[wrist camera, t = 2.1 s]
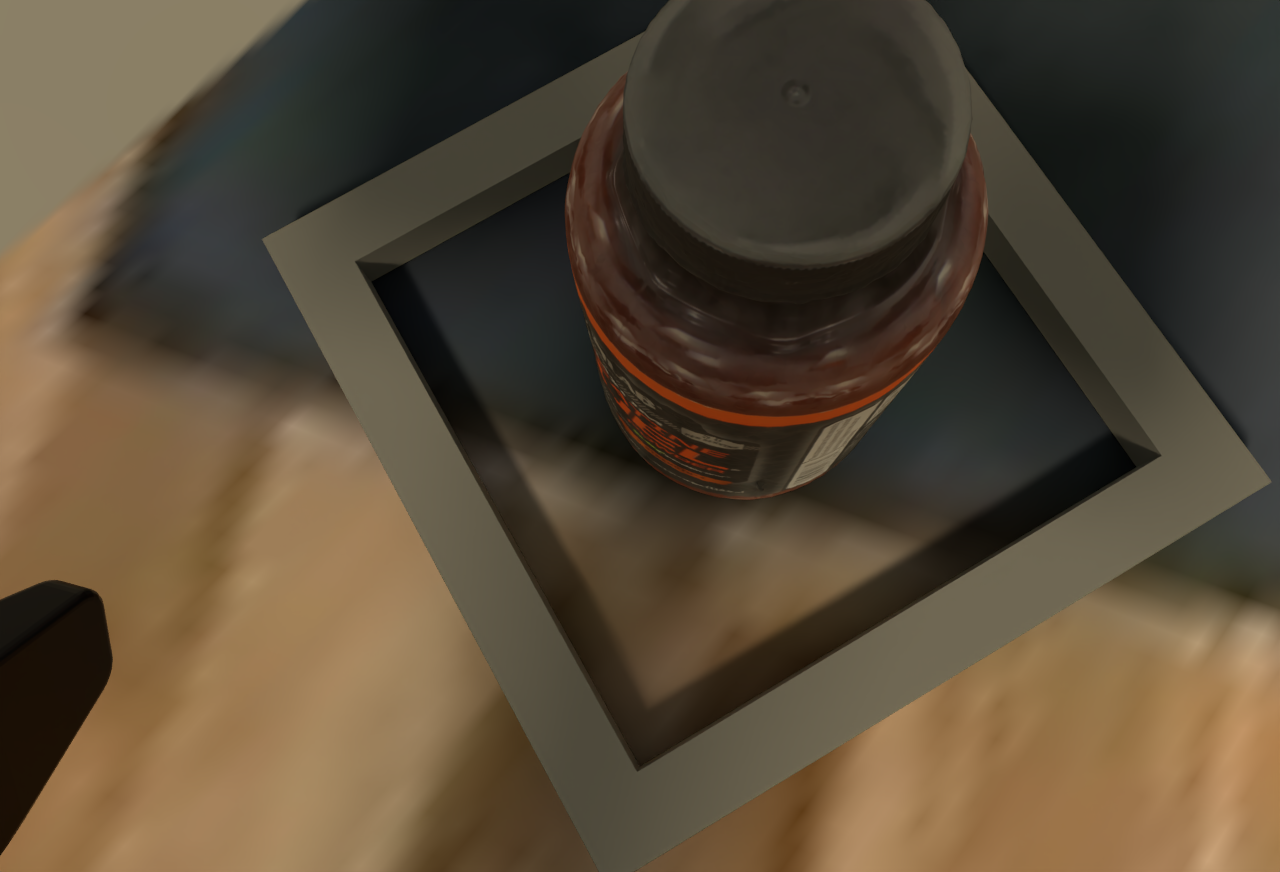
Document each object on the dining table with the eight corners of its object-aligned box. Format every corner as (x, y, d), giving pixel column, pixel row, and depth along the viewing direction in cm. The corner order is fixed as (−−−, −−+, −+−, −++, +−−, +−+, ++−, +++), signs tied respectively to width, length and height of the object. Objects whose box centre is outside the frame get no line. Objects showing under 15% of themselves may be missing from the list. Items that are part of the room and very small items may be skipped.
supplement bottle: (546, 392, 23) (419, 131, 12) (717, 192, 24) (745, -224, 13) (765, 565, 22) (847, 457, 11) (934, 350, 23) (1170, 46, 12)
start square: (1239, 492, 22) (1271, 481, 21) (611, 876, 21) (607, 888, 19) (846, -47, 25) (855, -83, 24) (282, 260, 24) (262, 239, 23)
